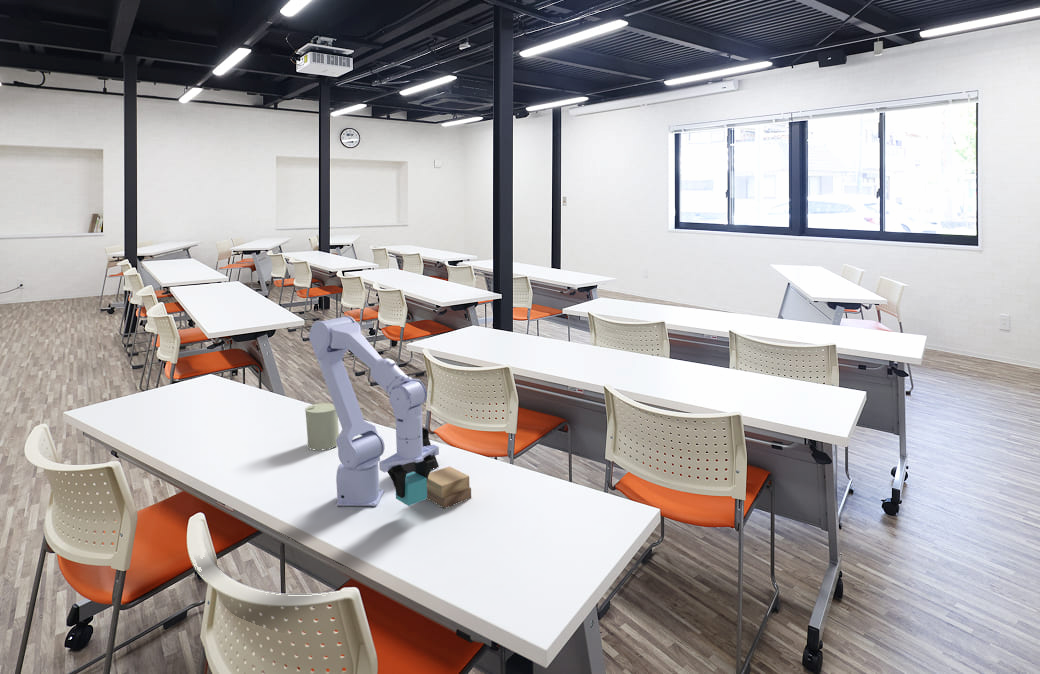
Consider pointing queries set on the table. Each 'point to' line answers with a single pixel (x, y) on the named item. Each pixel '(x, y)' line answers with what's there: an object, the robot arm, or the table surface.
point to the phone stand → (425, 436)
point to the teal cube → (414, 489)
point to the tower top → (447, 482)
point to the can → (322, 426)
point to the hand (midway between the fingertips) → (411, 492)
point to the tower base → (449, 498)
